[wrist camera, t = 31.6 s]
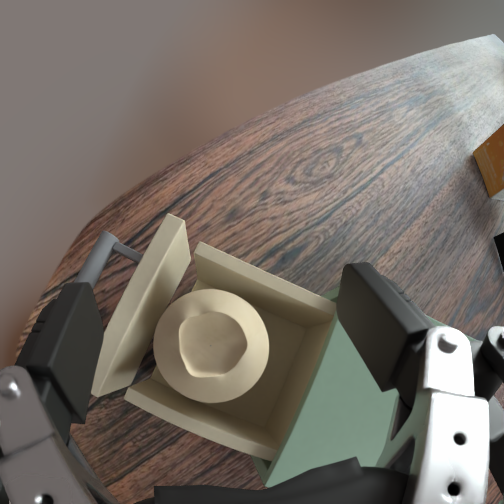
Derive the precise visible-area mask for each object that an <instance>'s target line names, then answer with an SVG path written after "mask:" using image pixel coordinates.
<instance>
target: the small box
mask: <svg viewBox="0 0 504 504" xmlns="http://www.w3.org/2000/svg"><path fill="white" fill-rule="evenodd" d="M473 155H474V157H475V159H476V162H477V164H478V167H479V169H480V172H481V174H482V177H483V180H484V182H485V185H486V188H487V191H488V195H489V198H490V199H496V200H502V201H504V124H503V125H502V126H501V127H500V128H499V129H498V130H497V131H496V132H494V133H493V134H492V135H491V136H490V137H489V138H488V139H487V140H486V141H485V142H484V143H483V144H481V145H480V146H479V147H478V148H477V149H476V150H475V151H474V152H473Z"/></svg>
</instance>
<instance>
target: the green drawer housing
mask: <svg viewBox="0 0 504 504" xmlns="http://www.w3.org/2000/svg"><path fill="white" fill-rule="evenodd" d="M339 288H340V286H338V287H336V288H335V289H333V290H331V291H329V292H327V293H326V294H324V295H322V296H321V297H323V298H326V299H328V300H330V301H332V302H335V303H337V299H338V294H339ZM427 317H428V316H427ZM428 318H429V319H430V321H431V322H432V323H433V324H434V325H435V326H447V325H445V324H443V323H441V322H439V321H437V320H435V319H433V318H430V317H428ZM448 327H449V326H448ZM462 334H463V333H462ZM463 335H464V336H465V337H466V338H467V339H468V341H477V340H475V339H473V338H471V337H469V336H467V335H465V334H463ZM397 395H398V391H397V389H396V388H395V389H392V390H389V391H386V392H381V390H380V388H379V386H378V385H377V383H376V381H375V380H374V378H373V376H372V375H371V373H370V371H369V370H368V368H367V366H366V364H365V363H364V361H363V359H362V358H361V356H360V354H359V353H358V351H357V349H356V348H355V346H354V345H353V343H352V341H351V340H350V338H349V336H348V335H347V333H346V331H345V330H344V328H343V327H342V325H341V323H340V322H339V319H338V316H337V311H335V314H334V317H333V320H332V323H331V325H330V328H329V331H328V334H327V336H326V339H325V342H324V344H323V347H322V350H321V352H320V355H319V357H318V360H317V362H316V365H315V367H314V370H313V372H312V375H311V377H310V380H309V382H308V384H307V387H306V389H305V392H304V394H303V396H302V399H301V401H300V403H299V405H298V408H297V410H296V412H295V414H294V417H293V419H292V421H291V423H290V425H289V428H288V430H287V432H286V434H285V436H284V438H283V440H282V442H281V445H280V447H279V449H278V451H277V453H276V455H275V457H274V459H273V461H268V460H265V459H262V458H259V457H256V456H253V455H251V457H252V460H253V462H254V464H255V467H256V469H257V471H258V473H259V475H260V478H261V480H262V482H263V485H264V486H265V487H269V488H270V487H272V486H274V485H277V484H279V483H281V482H284V481H286V480H288V479H290V478H293V477H295V476H297V475H299V474H301V473H303V472H305V471H307V470H309V469H312V468H316V467H320V466H324V465H328V464H332V463H335V462H339V461H342V460H346V459H349V458H352V457H355V456H356V457H357V459H358V461H359V463H360V466H361V467H362V466H369V467H375V465H376V463H377V461H378V459H379V457H380V455H381V453H382V451H383V448H384V446H385V442H386V438H387V434H388V430H389V426H390V421H391V417H392V412H393V408H394V403H395V399H396V397H397Z"/></svg>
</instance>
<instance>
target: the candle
mask: <svg viewBox="0 0 504 504" xmlns="http://www.w3.org/2000/svg"><path fill="white" fill-rule="evenodd" d="M153 350H154V356H155V360H156V363H157V366H158V368H159V370H160V372H161V374H162V376H163V377H164V379H165V380H166V381H167V382H168V384H169V385H170V386H172V387H173V388H174V389H175V390H176V391H178V392H179V393H180V394H182V395H184V396H186V397H188V398H190V399H193V400H196V401H200V402H207V403H218V402H225V401H228V400H232V399H234V398H236V397H239V396H241V395H242V394H244V393H245V392H247V391H248V390H249V389H250V388H252V387H253V385H254V384H255V383H256V382H257V381H258V380H259V378H260V377H261V375H262V373H263V371H264V369H265V367H266V364H267V360H268V355H269V339H268V334H267V331H266V328H265V325H264V323H263V321H262V319H261V317H260V316H259V314H258V313H257V312H256V310H255V309H254V308H253V307H252V306H251V305H250V304H249V303H248V302H246V301H245V300H243V299H242V298H240V297H238V296H237V295H235V294H232V293H229V292H226V291H222V290H216V289H204V290H198V291H194V292H190V293H188V294H186V295H184V296H182V297H180V298H178V299H177V300H176V301H174V302H173V303H172V304H171V305H170V306H169V307H168V308H167V309H166V310H165V312H164V313H163V314H162V316H161V318H160V320H159V321H158V324H157V326H156V330H155V334H154V341H153Z"/></svg>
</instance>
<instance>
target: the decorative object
mask: <svg viewBox="0 0 504 504" xmlns="http://www.w3.org/2000/svg"><path fill="white" fill-rule="evenodd" d="M494 241H495V244H496V247H497V250H498V253H499V257H500V260H501V264H502V267H503V271H504V232H503V233H501V234H499V235H497V236H495V237H494Z"/></svg>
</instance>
